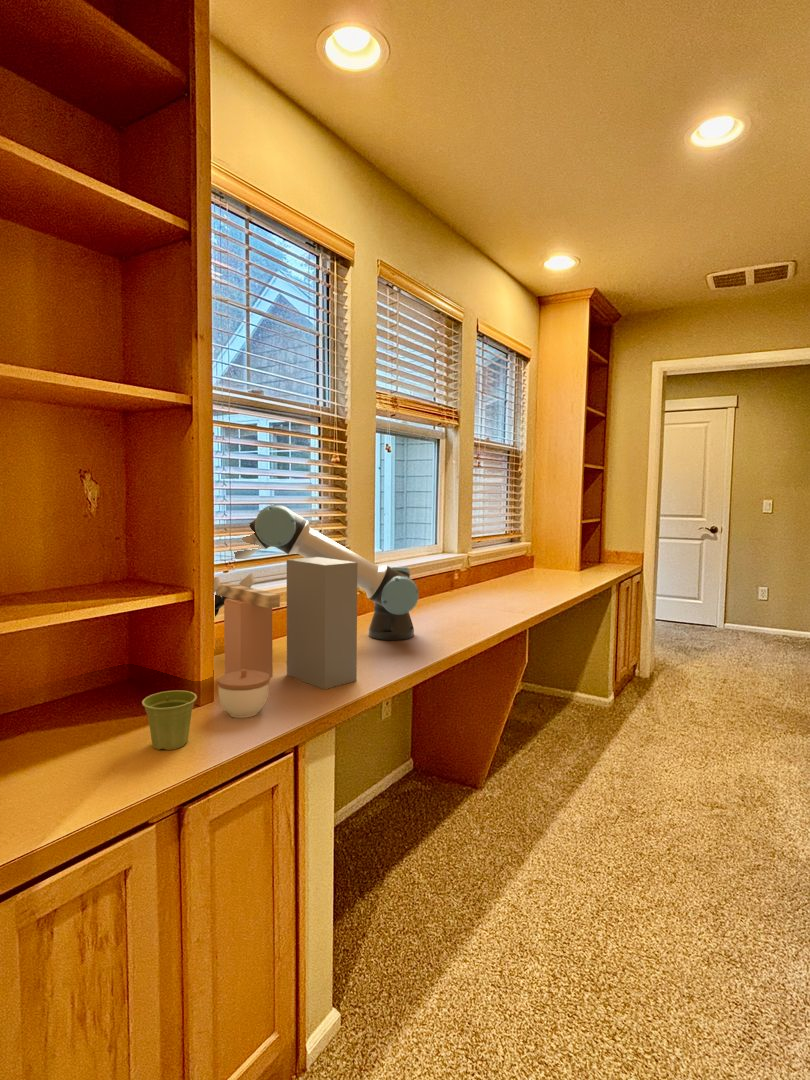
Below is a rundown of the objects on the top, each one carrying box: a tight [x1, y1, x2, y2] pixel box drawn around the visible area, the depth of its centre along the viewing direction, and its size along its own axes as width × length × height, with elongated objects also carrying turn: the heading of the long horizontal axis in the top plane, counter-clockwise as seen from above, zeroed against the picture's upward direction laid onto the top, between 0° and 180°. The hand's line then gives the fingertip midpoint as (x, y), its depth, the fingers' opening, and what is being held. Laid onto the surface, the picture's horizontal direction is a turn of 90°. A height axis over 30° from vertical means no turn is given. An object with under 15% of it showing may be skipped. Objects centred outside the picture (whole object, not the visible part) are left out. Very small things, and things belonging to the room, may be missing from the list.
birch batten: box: [215, 582, 281, 609], centre depth 152 cm, size 26×3×3 cm, turn 45°
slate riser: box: [286, 557, 358, 690], centre depth 151 cm, size 16×10×30 cm, turn 45°
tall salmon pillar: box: [223, 598, 274, 678], centre depth 152 cm, size 8×9×20 cm
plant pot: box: [141, 689, 198, 751], centre depth 111 cm, size 9×9×9 cm
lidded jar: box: [217, 669, 271, 719], centre depth 127 cm, size 11×11×9 cm
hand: (235, 579), depth 155 cm, fingers open, 9 cm apart
